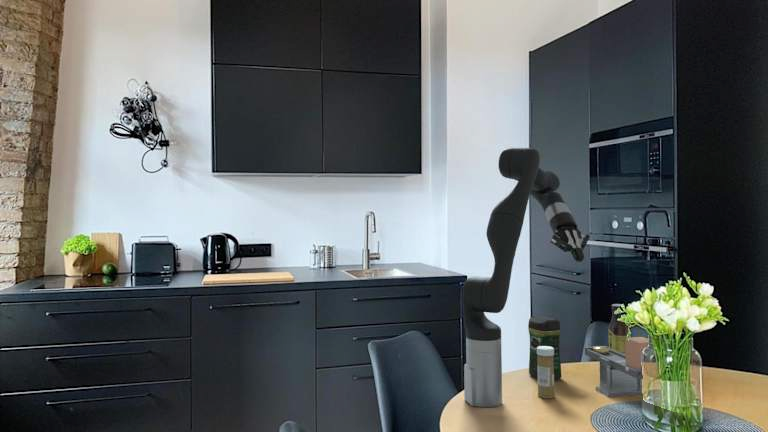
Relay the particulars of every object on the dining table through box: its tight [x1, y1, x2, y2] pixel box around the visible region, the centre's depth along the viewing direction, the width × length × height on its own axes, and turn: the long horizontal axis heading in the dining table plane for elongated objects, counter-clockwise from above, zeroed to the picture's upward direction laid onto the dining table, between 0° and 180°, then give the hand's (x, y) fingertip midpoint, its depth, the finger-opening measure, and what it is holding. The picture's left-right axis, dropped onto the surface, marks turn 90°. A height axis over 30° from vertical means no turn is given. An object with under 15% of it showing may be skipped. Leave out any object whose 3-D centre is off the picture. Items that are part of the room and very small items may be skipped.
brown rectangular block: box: [625, 336, 650, 370], centre depth 148 cm, size 5×6×8 cm
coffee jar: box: [527, 315, 562, 382], centre depth 172 cm, size 10×8×19 cm
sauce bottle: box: [608, 303, 629, 355], centre depth 185 cm, size 6×6×20 cm
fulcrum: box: [595, 357, 643, 398], centre depth 156 cm, size 12×6×10 cm, turn 100°
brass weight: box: [592, 345, 609, 355], centre depth 166 cm, size 4×4×2 cm
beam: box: [584, 345, 644, 380], centre depth 156 cm, size 8×26×2 cm, turn 10°
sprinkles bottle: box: [537, 346, 556, 400], centre depth 154 cm, size 5×5×14 cm
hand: (580, 260), depth 170 cm, fingers closed
